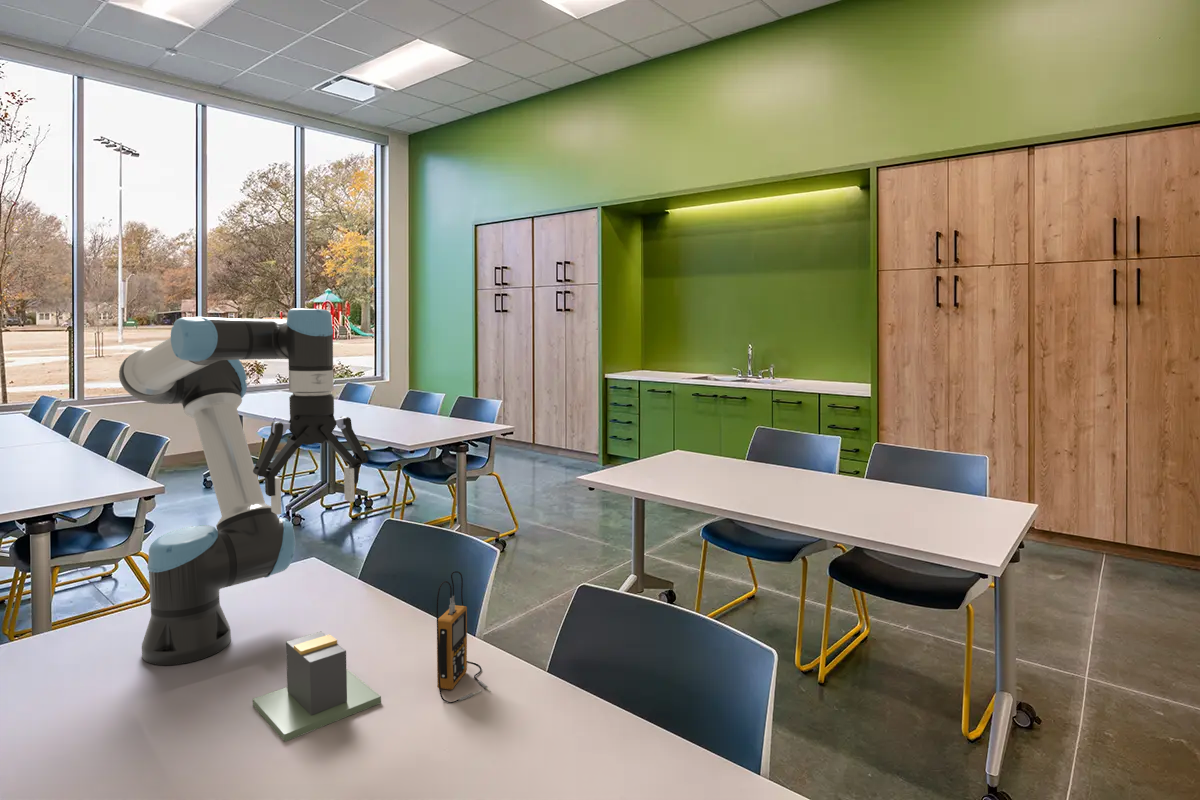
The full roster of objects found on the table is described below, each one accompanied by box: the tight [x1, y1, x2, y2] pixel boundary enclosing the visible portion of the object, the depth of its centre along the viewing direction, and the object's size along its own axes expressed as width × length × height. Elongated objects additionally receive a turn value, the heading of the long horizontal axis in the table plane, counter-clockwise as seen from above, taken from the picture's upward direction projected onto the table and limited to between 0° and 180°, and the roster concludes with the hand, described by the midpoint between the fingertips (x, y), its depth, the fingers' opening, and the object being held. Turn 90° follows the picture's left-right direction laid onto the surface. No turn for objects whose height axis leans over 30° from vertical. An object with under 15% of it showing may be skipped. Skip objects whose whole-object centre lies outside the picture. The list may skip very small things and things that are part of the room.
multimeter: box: [436, 571, 492, 704], centre depth 122 cm, size 15×10×20 cm
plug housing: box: [285, 631, 347, 715], centre depth 114 cm, size 10×6×10 cm, turn 45°
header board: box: [252, 668, 382, 742], centre depth 115 cm, size 14×16×5 cm
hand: (314, 506), depth 126 cm, fingers open, 13 cm apart
